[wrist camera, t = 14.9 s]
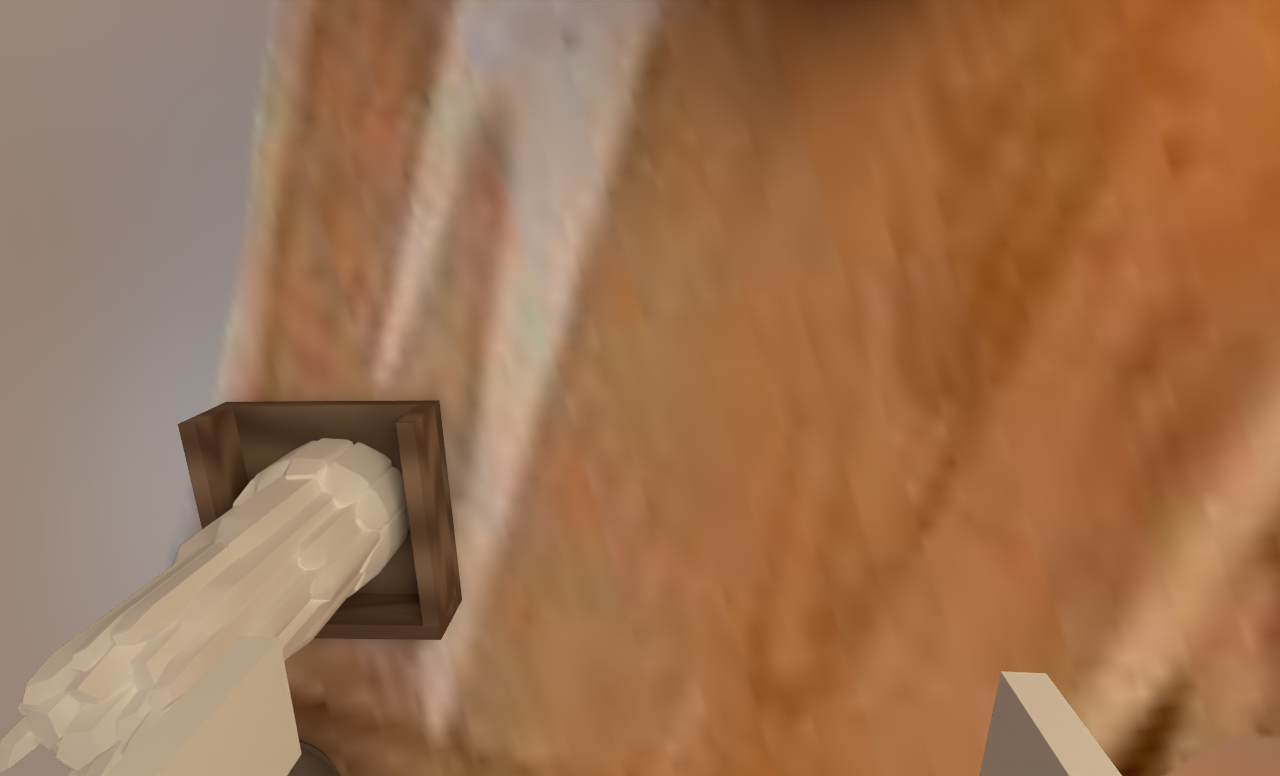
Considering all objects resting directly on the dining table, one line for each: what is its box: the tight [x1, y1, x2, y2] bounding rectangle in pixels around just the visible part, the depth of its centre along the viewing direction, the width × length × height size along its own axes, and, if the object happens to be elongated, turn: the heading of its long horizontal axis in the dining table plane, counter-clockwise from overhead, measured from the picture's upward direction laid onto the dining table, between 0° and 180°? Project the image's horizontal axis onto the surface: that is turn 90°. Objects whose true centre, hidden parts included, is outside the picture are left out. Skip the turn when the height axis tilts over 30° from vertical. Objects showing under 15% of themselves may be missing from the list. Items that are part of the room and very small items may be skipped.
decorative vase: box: [0, 438, 410, 776], centre depth 38 cm, size 11×11×25 cm
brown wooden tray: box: [178, 401, 462, 640], centre depth 49 cm, size 17×16×5 cm
